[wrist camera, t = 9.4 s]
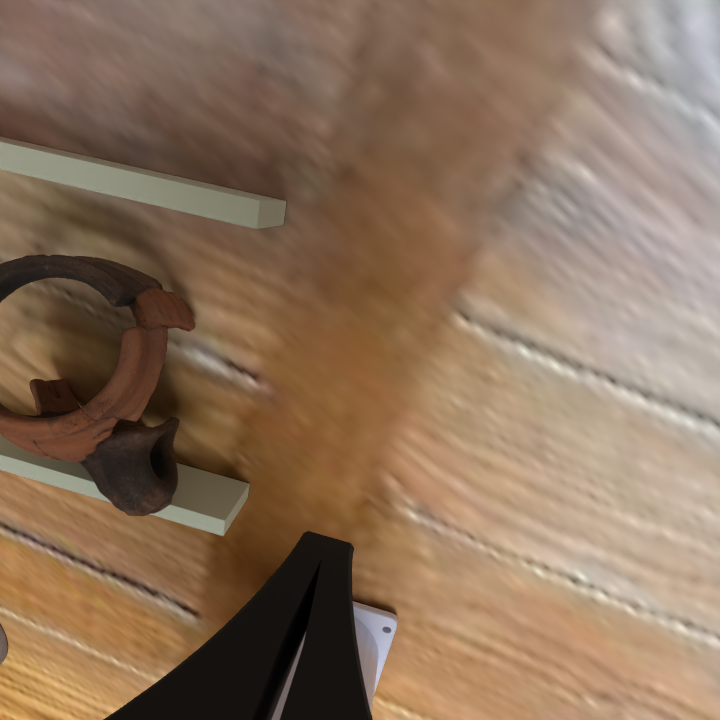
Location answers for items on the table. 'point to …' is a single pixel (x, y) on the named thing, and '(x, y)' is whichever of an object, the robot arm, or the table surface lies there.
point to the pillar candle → (3, 645)
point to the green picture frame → (195, 487)
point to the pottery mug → (106, 389)
